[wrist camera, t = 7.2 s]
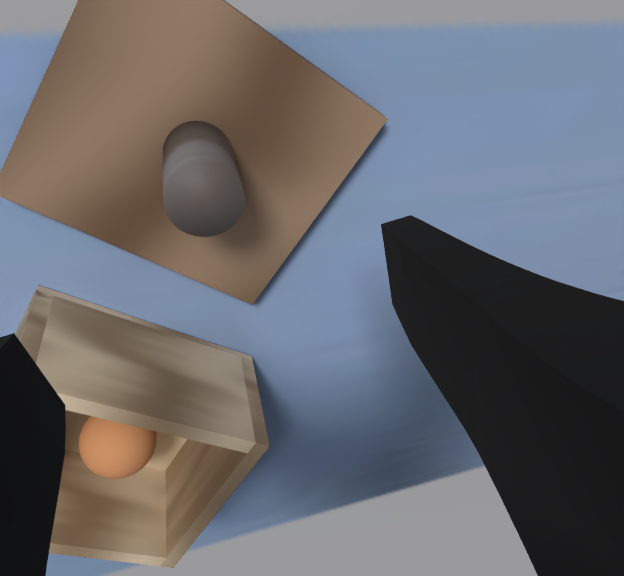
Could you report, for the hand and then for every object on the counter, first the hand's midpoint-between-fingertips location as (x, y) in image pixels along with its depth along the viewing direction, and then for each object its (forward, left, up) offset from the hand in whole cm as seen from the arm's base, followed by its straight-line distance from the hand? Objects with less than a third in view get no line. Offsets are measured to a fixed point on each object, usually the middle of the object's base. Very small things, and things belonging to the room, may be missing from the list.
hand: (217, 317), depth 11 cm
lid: (0, 0, -9) cm, 9 cm away
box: (+2, -11, -10) cm, 15 cm away
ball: (+3, -12, -9) cm, 15 cm away
